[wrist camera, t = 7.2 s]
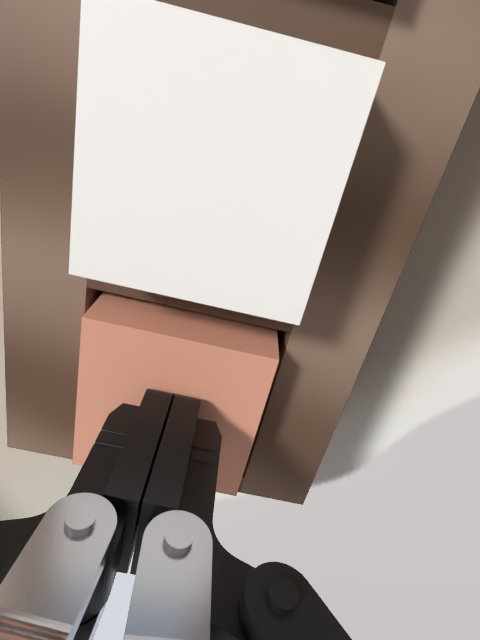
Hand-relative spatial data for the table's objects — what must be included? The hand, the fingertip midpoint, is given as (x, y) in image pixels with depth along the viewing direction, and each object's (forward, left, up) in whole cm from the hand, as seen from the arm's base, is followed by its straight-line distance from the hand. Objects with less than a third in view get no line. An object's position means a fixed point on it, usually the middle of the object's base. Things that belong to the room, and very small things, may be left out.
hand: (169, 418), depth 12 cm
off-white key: (-7, 0, -2) cm, 7 cm away
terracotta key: (0, 0, -3) cm, 3 cm away
